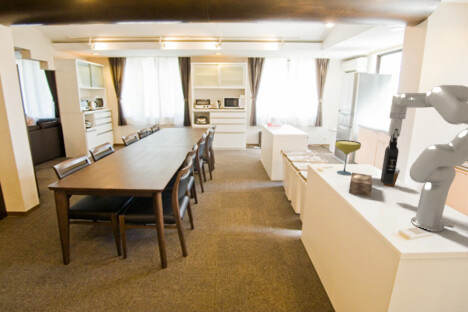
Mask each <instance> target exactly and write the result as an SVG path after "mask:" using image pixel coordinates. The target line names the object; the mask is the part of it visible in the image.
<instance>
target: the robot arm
mask: <svg viewBox="0 0 468 312" xmlns="http://www.w3.org/2000/svg"><path fill="white" fill-rule="evenodd" d="M408 108H409V109H410V108H411V109H412V108H418V109H419V108H420V109H421V108H423V109H424V108H434V109H435V111H436V112H437V113H438V115H440V117H441V118H442V119H443V120H444V121H445V122H447V123H448V124H451V125H457V126H458V125H459V126H462V125H463V126H465V125H466V126H468V86H465V85H462V84H458V85H457V84H441V85H438V86H436V87H434V88H432V89H429V91H428V92H403V93H394V94H393V95H392V100H391V106H390V112H389V119H390V124H389V128H388V136H389V138H390V139H389V142H388V146H389V145H390V149H396V147H397V148H398V138H399V137H400V136H401V132H402V127H403V126H402V125H403V120H405V119H406V115H407V111H408ZM393 135H394V136H393ZM391 136H392V139H391ZM467 161H468V127H466V128H465V129H463V130H461V131H460V132H458V133H457V134H455V137H454V138H453V139H452V140H451V141H449V142H448V143H443V144H442V143H441V144H439V143H437V144H431V145H429V146H427V147H426V148H425V149H424V150H423V151H422V152H421V153H420V155H418V157H417V158H416V160H415V161H414V162H413V163H412V164H411V166H410V169H409V177H410V179H411V180H412V181H414V182H416V183H417V184H418V183H419V184H423V186H422V188H421V192H420V196H419V200H418V204H417V210H416V212H415V213H416V214H415V216H414V217H411V219H410V223H411V224H413V225H414V226H415V227H417V228H419V227H421V228H425V229H429V230H431V231H430V232H435V233H440V232H443V231H444V228H445V227H446V228H447V227H448V228H450V229H451V228H452V229H454V227H455V224H454V223H452V222H451V223H450V222H449V221H448V220H443V214H444V210H445V206H446V202H447V198H448V194H449V191H450V188H451V186H452V184H453V182H454V180H455V178H456V175H457V173H456V171H457V170H456V168H455V167H460V166H462V165H463V164H465V163H466V162H467ZM421 228H420V229H421Z"/></svg>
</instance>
